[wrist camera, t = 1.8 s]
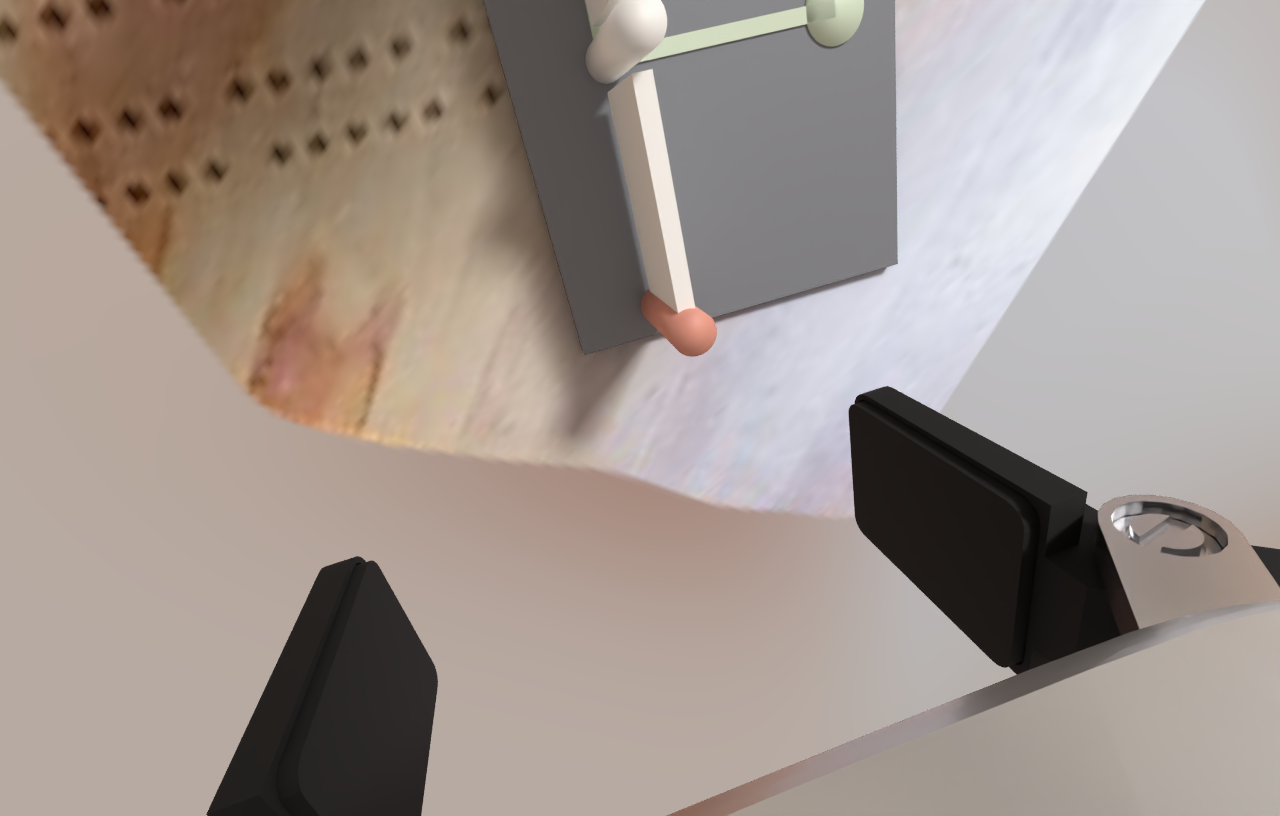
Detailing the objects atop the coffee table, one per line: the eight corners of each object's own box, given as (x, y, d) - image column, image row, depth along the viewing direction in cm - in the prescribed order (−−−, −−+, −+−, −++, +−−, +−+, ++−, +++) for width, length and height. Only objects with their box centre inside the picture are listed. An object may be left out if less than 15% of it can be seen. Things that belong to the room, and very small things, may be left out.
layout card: (386, -342, 19) (382, -360, 18) (880, -406, 21) (892, -424, 20) (582, 351, 30) (584, 355, 29) (890, 262, 32) (898, 264, 31)
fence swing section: (593, 96, 24) (618, 74, 19) (635, 86, 24) (672, 62, 19) (645, 327, 29) (677, 361, 24) (680, 317, 29) (719, 349, 24)
